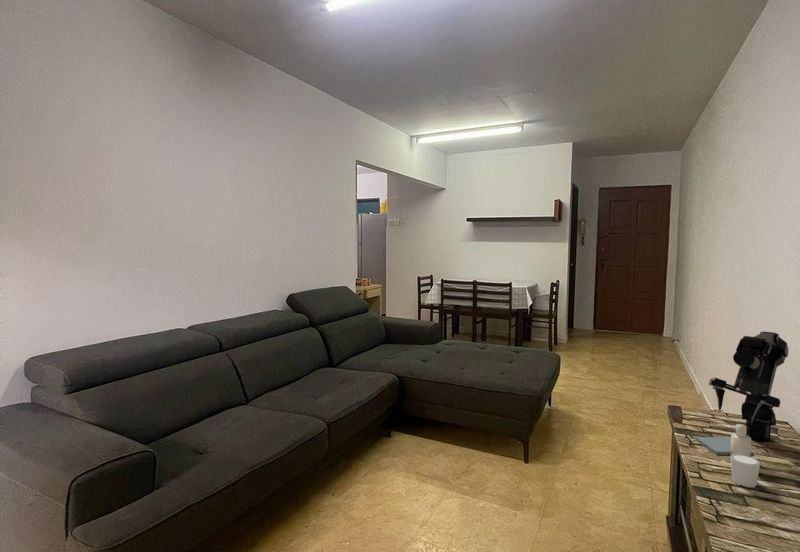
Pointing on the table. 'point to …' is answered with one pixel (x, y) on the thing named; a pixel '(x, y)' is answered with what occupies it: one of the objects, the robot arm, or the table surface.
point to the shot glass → (744, 470)
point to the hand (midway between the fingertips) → (735, 416)
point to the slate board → (717, 444)
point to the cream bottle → (740, 441)
